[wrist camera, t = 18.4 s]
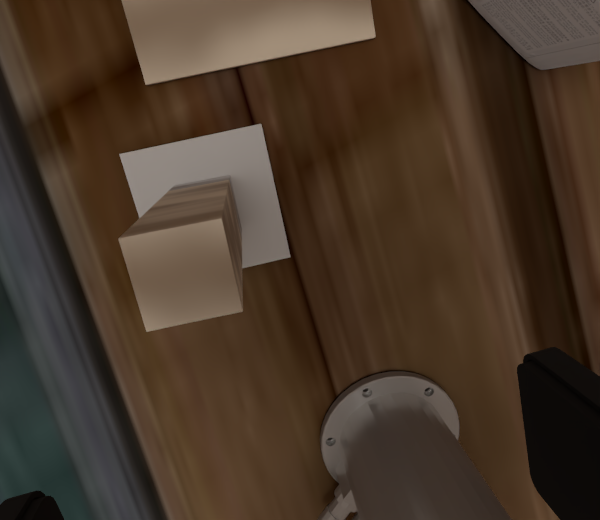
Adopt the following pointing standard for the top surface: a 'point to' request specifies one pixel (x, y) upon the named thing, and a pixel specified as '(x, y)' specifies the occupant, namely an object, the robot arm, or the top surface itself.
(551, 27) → the photo printer
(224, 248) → the wooden block
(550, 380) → the robot arm
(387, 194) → the top surface
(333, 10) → the oak board
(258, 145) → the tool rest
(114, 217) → the top surface
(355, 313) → the top surface
